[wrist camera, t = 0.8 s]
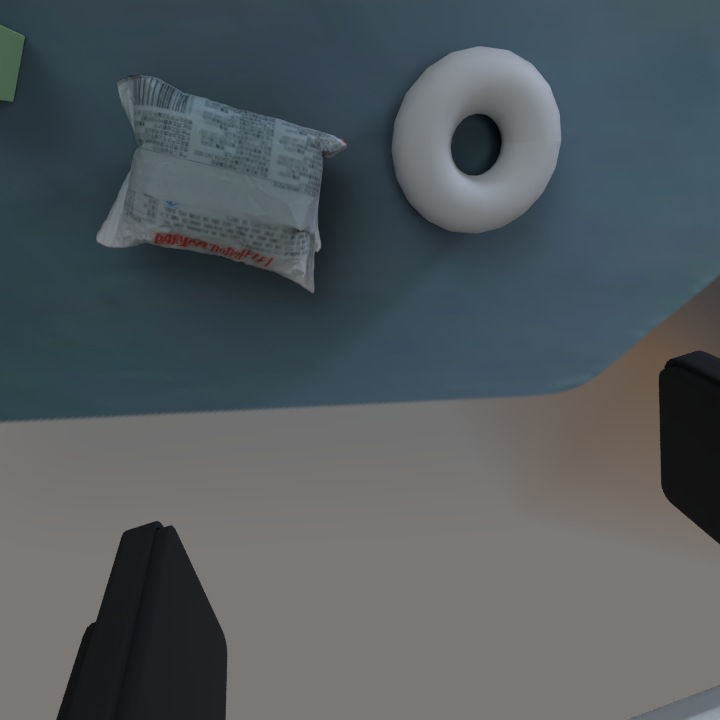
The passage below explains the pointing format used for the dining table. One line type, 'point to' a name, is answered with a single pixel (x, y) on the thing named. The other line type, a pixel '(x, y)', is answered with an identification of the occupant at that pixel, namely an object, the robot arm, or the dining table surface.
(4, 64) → the bar
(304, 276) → the packaged food
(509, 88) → the donut
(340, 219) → the dining table surface
